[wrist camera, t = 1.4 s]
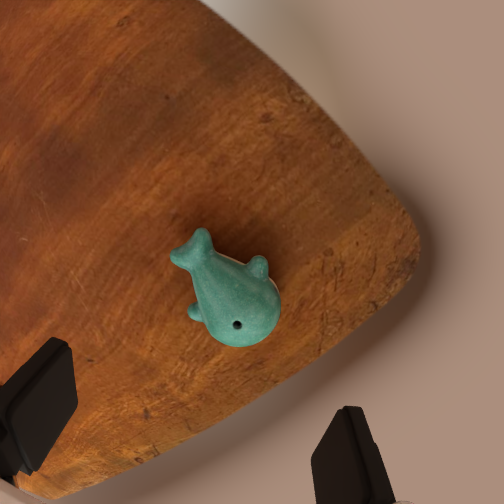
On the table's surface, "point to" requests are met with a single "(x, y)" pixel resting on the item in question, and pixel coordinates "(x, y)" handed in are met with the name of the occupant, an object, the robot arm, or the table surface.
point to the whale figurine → (229, 292)
